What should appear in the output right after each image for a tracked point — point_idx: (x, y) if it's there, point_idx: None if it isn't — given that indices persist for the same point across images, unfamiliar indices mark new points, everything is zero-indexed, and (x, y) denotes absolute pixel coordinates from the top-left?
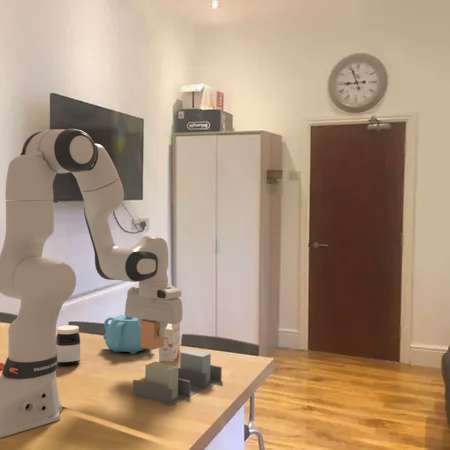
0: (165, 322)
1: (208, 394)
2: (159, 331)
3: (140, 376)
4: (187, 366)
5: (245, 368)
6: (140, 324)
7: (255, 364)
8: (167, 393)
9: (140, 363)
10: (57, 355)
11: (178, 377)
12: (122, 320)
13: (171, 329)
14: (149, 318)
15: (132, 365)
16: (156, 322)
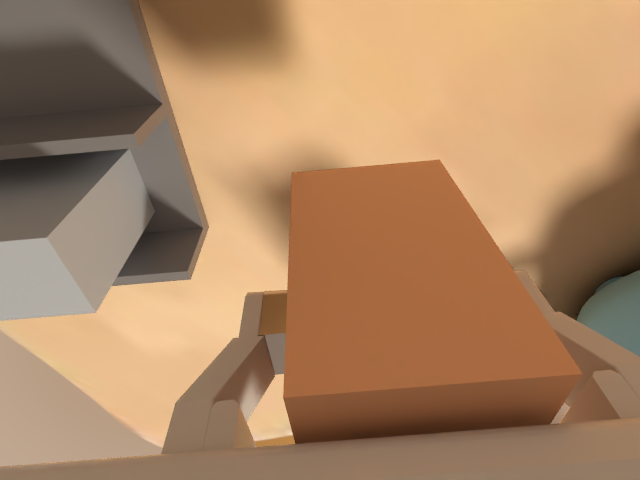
0: (58, 471)
1: None
2: (253, 332)
3: (376, 75)
4: (33, 192)
5: (136, 383)
6: (583, 342)
7: (152, 414)
8: None
9: (504, 219)
10: None
11: (78, 118)
12: None
13: None
14: (429, 468)
15: (526, 176)
16: (292, 431)
